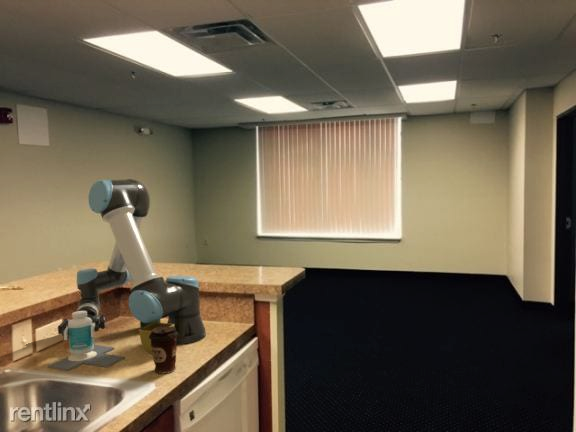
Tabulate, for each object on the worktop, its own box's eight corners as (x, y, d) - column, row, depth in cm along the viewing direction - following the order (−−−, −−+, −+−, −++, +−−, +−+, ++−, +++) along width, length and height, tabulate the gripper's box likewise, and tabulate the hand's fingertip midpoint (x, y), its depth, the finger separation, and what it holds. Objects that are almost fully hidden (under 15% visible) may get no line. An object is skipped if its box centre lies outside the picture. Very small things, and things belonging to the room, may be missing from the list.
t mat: (137, 351, 161) (136, 350, 161) (92, 374, 143) (92, 372, 143) (95, 346, 168) (94, 344, 168) (47, 367, 150) (47, 365, 150)
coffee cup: (162, 378, 139) (159, 335, 138) (145, 372, 144) (142, 330, 143) (185, 368, 145) (182, 327, 144) (168, 362, 150) (165, 323, 149)
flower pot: (161, 358, 154) (159, 331, 154) (139, 355, 158) (138, 329, 157) (176, 349, 163) (175, 323, 162) (155, 346, 166) (154, 322, 165)
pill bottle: (97, 351, 157) (95, 311, 156) (75, 357, 152) (72, 317, 151) (88, 346, 163) (86, 308, 162) (66, 352, 157) (63, 312, 156)
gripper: (116, 322, 177) (112, 341, 155) (57, 328, 171) (45, 349, 149) (114, 302, 177) (111, 319, 155) (55, 308, 171) (43, 327, 149)
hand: (78, 334), depth 152 cm, fingers closed on pill bottle, 7 cm apart
